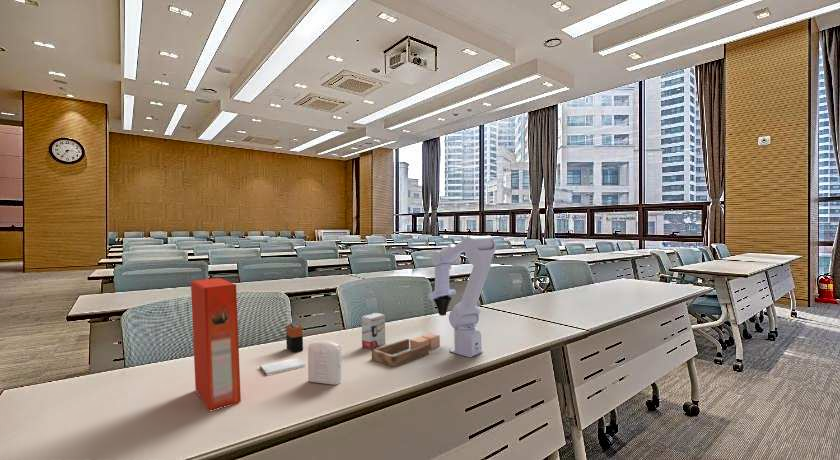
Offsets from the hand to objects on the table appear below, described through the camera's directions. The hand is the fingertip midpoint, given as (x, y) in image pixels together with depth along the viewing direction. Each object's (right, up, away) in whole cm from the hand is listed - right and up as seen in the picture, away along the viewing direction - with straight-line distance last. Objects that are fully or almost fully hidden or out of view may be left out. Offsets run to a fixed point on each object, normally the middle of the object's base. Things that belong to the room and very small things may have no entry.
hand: (442, 315), depth 157 cm
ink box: (-27, -11, -4) cm, 29 cm away
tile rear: (-5, -11, -5) cm, 13 cm away
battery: (-56, -12, -7) cm, 58 cm away
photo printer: (-38, -12, -38) cm, 55 cm away
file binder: (-66, -13, -47) cm, 82 cm away
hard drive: (-55, -13, -25) cm, 62 cm away
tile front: (-9, -11, -10) cm, 17 cm away
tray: (-15, -11, -16) cm, 25 cm away
